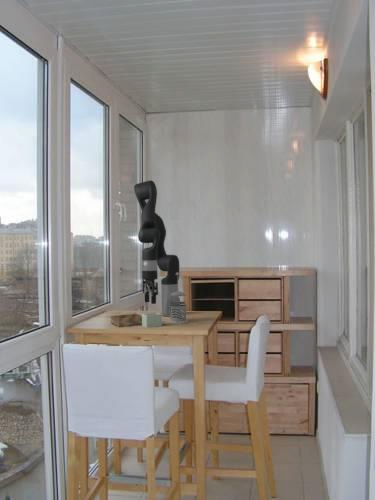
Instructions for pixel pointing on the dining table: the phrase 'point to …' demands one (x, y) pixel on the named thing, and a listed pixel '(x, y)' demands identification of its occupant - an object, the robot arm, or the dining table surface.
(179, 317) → the french press
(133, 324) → the brown flat block
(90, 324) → the dining table surface
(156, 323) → the small crate
